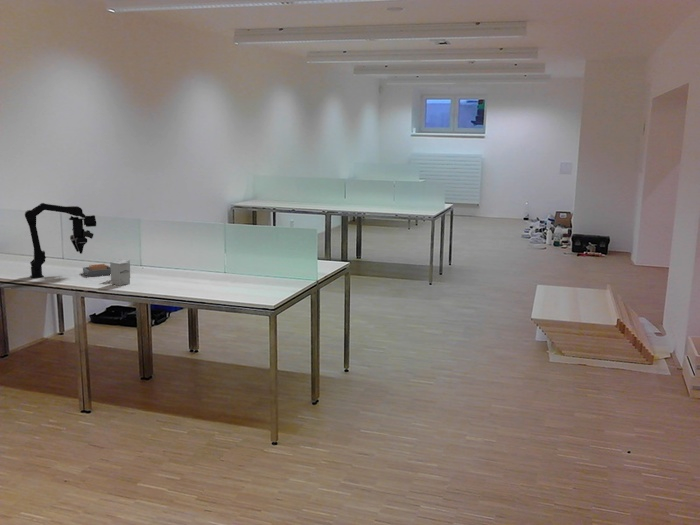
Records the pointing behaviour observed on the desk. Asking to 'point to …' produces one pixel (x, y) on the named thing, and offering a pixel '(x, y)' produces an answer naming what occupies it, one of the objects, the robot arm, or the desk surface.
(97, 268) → the small crate
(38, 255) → the robot arm
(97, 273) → the big crate
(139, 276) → the desk surface
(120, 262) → the supplement box
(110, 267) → the light bulb box
